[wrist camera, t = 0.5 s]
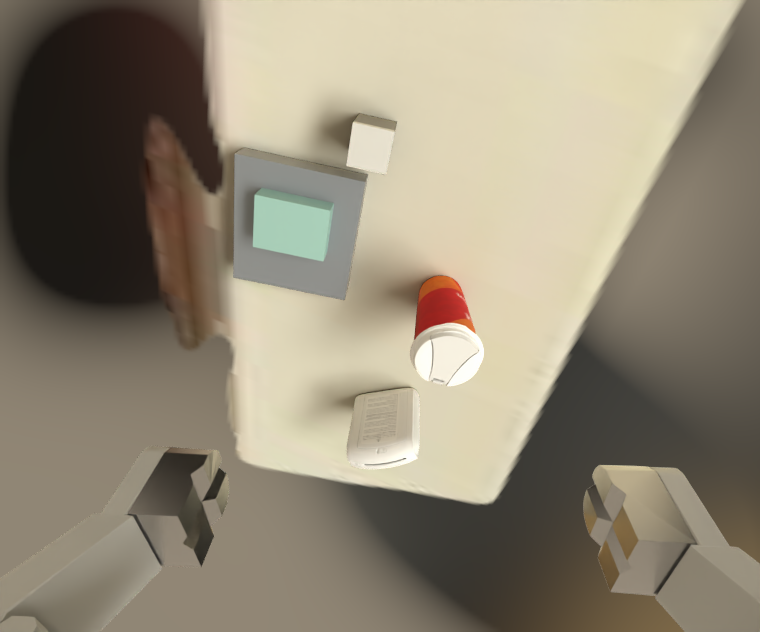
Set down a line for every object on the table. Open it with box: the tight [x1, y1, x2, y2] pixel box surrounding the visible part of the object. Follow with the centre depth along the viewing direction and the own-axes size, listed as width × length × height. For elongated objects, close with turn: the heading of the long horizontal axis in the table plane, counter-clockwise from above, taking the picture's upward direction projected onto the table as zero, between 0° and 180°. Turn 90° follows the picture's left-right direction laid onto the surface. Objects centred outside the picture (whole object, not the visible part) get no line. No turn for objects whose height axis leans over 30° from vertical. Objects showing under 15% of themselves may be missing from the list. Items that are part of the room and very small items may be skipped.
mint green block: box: [253, 188, 334, 261], centre depth 47 cm, size 6×8×2 cm
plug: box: [346, 114, 397, 175], centre depth 43 cm, size 4×4×6 cm
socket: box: [233, 148, 368, 300], centre depth 50 cm, size 15×14×3 cm
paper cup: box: [410, 276, 484, 386], centre depth 50 cm, size 8×8×14 cm
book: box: [347, 388, 420, 469], centre depth 61 cm, size 10×4×12 cm, turn 105°
